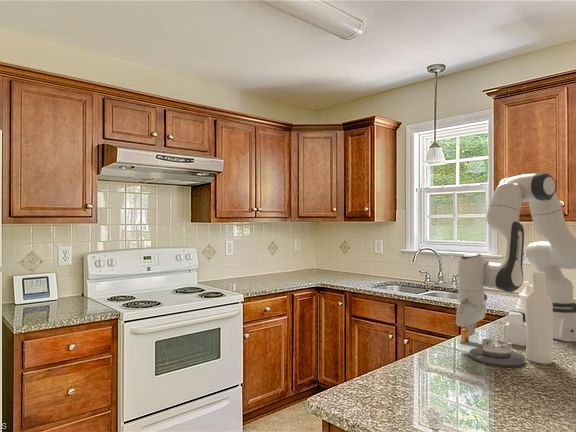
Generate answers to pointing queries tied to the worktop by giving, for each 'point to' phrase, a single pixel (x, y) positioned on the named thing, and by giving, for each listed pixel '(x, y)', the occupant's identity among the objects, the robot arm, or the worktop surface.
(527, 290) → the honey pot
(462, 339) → the crank handle dial
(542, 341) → the bottle
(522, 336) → the medicine bottle
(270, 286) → the worktop surface
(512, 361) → the flange
